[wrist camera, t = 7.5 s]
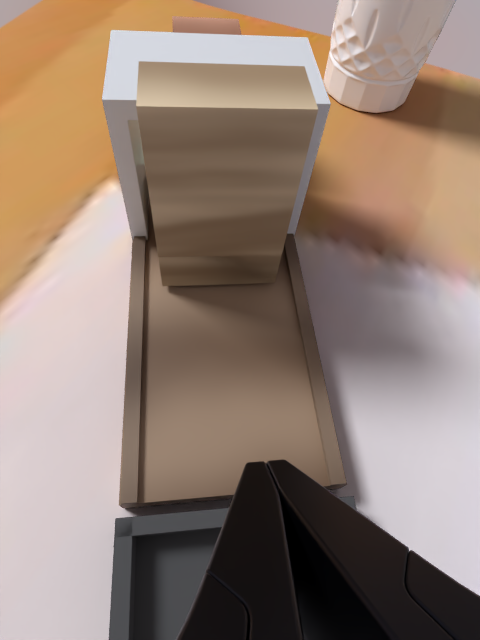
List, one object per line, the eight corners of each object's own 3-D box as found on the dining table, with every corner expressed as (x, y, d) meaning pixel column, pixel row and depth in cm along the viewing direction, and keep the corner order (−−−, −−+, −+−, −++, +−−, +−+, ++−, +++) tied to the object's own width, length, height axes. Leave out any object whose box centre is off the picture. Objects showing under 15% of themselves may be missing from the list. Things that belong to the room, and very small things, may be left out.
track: (339, 488, 17) (349, 482, 16) (123, 508, 16) (117, 503, 15) (266, 130, 29) (269, 113, 28) (140, 129, 28) (138, 111, 27)
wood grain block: (274, 282, 21) (318, 109, 13) (162, 286, 20) (136, 105, 12) (245, 111, 28) (262, -66, 20) (162, 110, 27) (146, -74, 20)
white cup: (376, 132, 30) (445, -39, 22) (296, 84, 33) (329, -86, 24) (430, 94, 34) (508, -68, 25) (353, 53, 36) (400, -107, 27)
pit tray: (377, 674, 14) (395, 685, 13) (113, 713, 13) (104, 729, 12) (342, 501, 17) (353, 496, 16) (122, 522, 16) (115, 518, 15)
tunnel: (293, 237, 23) (330, 104, 16) (132, 240, 22) (101, 99, 15) (280, 174, 25) (307, 37, 19) (136, 174, 24) (111, 30, 18)
